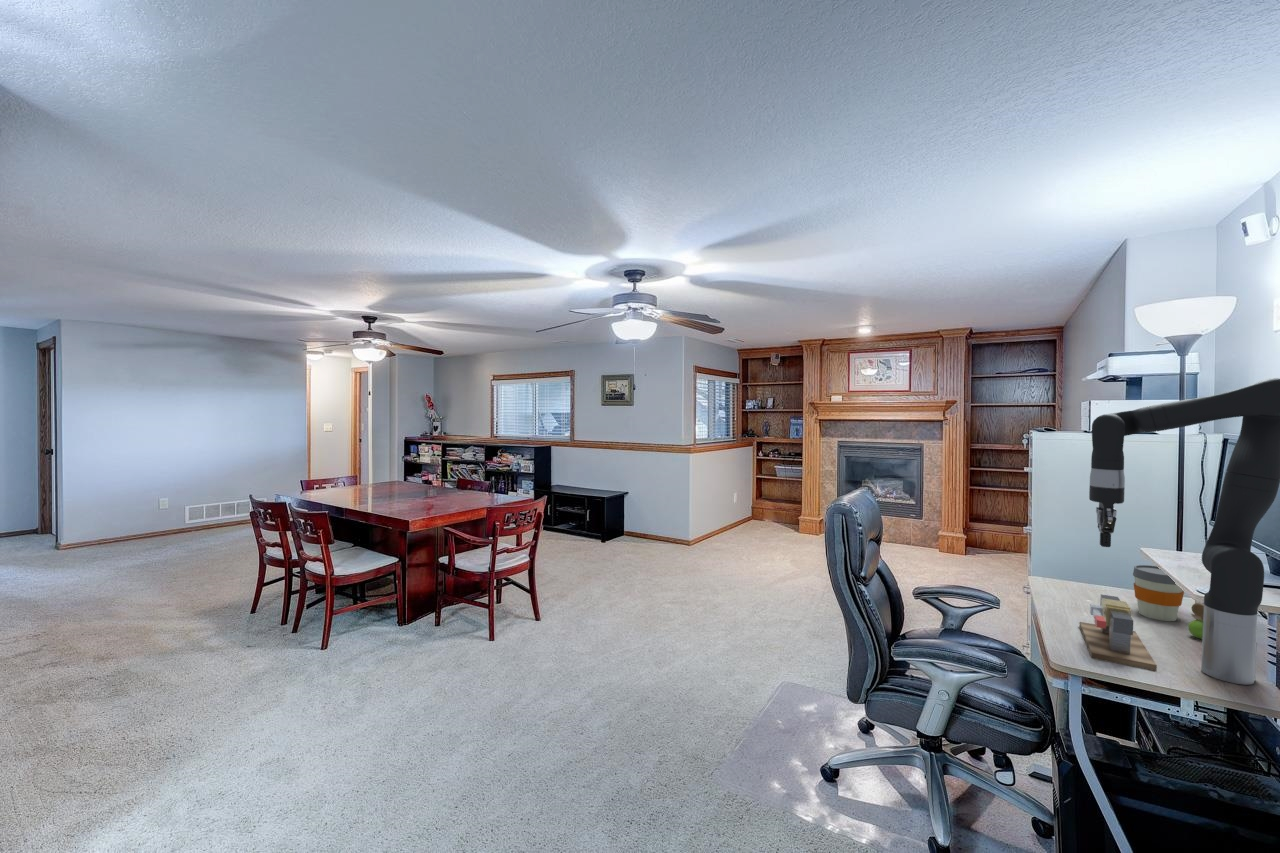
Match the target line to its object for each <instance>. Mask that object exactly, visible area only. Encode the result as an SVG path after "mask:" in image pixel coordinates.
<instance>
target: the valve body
mask: <svg viewBox="0 0 1280 853" xmlns="http://www.w3.org/2000/svg"><path fill="white" fill-rule="evenodd" d="M1099 602H1100V603H1099V606H1102V607H1103V617H1104V618H1105V620H1106V629H1105V628H1101V632H1102V633H1104V634H1109V648H1110V650H1111V651H1115V652H1120V653H1126V654H1130V643H1131V635H1133V631H1134V619H1133V618H1132V610H1131V607H1130V606H1129V604H1128V603H1127V601H1125V600H1124V601H1122V600H1121V599H1120V597H1119V596H1113V595H1108V594H1100V601H1099Z"/></svg>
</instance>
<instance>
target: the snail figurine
mask: <svg viewBox="0 0 1280 853" xmlns="http://www.w3.org/2000/svg"><path fill="white" fill-rule="evenodd" d="M1191 612H1192V613H1191V616H1192V617H1193V620H1191V621H1190V623H1188V628H1187V629H1188V631H1189V633H1190V634H1191V635H1192V636H1194V637H1195V638H1197V639H1200V640H1202V639H1203V617H1204V616H1203V615H1204V603H1202V602H1195V603H1193V604H1192V605H1191Z"/></svg>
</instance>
